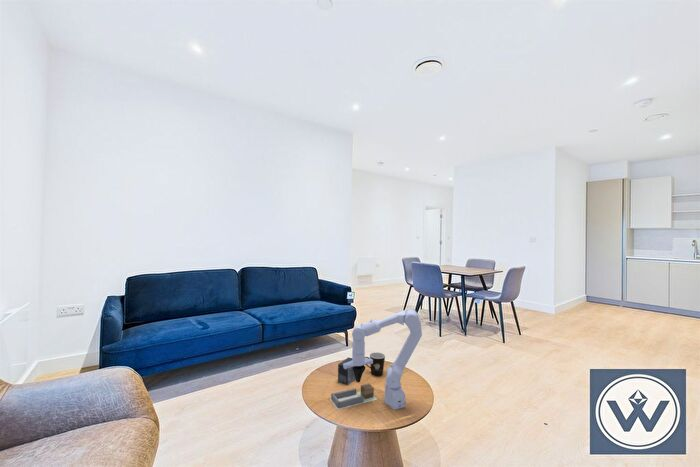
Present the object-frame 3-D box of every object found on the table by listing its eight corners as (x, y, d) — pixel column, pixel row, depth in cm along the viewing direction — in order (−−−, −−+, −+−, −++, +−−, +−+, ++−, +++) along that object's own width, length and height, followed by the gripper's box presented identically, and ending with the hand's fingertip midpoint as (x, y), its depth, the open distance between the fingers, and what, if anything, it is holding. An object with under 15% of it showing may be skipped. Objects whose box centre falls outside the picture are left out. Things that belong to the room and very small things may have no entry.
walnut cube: (373, 397, 140) (373, 387, 140) (365, 399, 138) (365, 389, 138) (368, 392, 144) (368, 383, 144) (360, 394, 142) (360, 385, 142)
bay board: (377, 401, 138) (377, 394, 138) (337, 411, 130) (337, 403, 130) (367, 392, 147) (367, 384, 147) (329, 400, 138) (329, 393, 138)
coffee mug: (387, 372, 168) (387, 354, 168) (380, 378, 161) (380, 360, 161) (369, 367, 174) (369, 350, 174) (361, 372, 167) (362, 355, 167)
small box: (347, 375, 163) (348, 356, 163) (358, 379, 160) (358, 359, 160) (337, 383, 154) (337, 363, 154) (347, 387, 151) (348, 366, 151)
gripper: (367, 346, 146) (367, 374, 146) (340, 351, 140) (340, 380, 140) (375, 352, 139) (374, 381, 139) (347, 357, 133) (346, 387, 133)
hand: (357, 381), depth 139 cm, fingers closed
